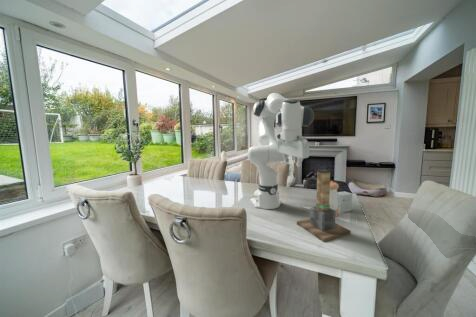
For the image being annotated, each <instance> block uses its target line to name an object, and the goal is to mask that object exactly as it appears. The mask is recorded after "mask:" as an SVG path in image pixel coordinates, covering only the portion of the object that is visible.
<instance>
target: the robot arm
mask: <svg viewBox="0 0 476 317" xmlns="http://www.w3.org/2000/svg"><path fill="white" fill-rule="evenodd" d="M252 110H253V114H254V116H256V117H260V118H261V119H260V120H259V123H258V128H257V130H258V135H257V136H258V142H259V143H260V145H253V146H250V147H249V148H248V150H247V155H246V157H247V158H248V160H249V162H251V163H252V164H253V165H255V167H256V169H257V172H258V177H259V183H258V185H257V189H256V190H255V191H254V192H253V195H252V197H251V198H250V202H251V203H252V205H253V206H254V208H255V209H256V208H257V209H264V210H273V209H279V207H280V205H281V204H282V201H281V200H280V199H281V198H280V191H279V190H278V189H279V187H278V186H279V184H278V174H277V171H276V170H275V169H274V168H273V167H270V166H268V163H274V164H275V163H283V162H284V163H285V164H287V163H290V159H289V156H292V157H295V158H297V161H296V162H295V163H296V165H295V166H296V167H302V162H303V160H304V159H308V158H309V157H310V145H309V142H308V139H307V138H306V137H305V136H303V133H302V131H303V128H302V127H309V126H310V125H311V124H312V123H313V122H314V119H315V113H314V110H313V109H312V108H311V107H310V106H309V105H302V104H301V102H300V100H298V99H289V98H286V97H284V96H283V95H282V94H280V93H277V92H272V93H270V94H268V95H267V98H266V100H264V99H261V100H257V101H256V102H255V103H254V105H253V108H252ZM275 125H277V126H278V127H279V128H282V129H281V132H279V133H277V134H276V131H275Z"/></svg>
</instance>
